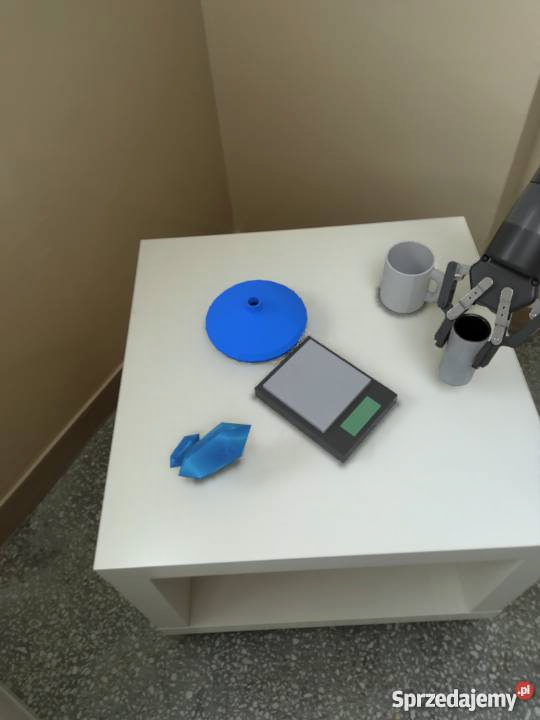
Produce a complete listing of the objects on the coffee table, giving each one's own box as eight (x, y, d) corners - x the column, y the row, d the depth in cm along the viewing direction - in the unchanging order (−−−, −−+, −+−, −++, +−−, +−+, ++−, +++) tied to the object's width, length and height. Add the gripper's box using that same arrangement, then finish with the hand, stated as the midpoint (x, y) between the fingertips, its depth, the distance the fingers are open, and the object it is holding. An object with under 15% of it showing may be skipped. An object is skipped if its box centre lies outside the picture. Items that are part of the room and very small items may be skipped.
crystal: (148, 443, 66) (227, 389, 67) (177, 462, 74) (247, 413, 74) (172, 492, 63) (255, 434, 63) (200, 507, 70) (274, 455, 71)
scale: (395, 402, 75) (398, 391, 72) (343, 463, 70) (344, 453, 68) (308, 344, 82) (308, 331, 79) (255, 396, 77) (253, 384, 74)
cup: (389, 275, 88) (395, 235, 81) (448, 294, 85) (461, 254, 78) (372, 305, 85) (378, 266, 77) (433, 326, 82) (445, 288, 74)
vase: (326, 345, 81) (326, 317, 75) (232, 388, 78) (225, 362, 72) (279, 279, 89) (277, 248, 84) (193, 315, 86) (184, 286, 81)
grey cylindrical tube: (437, 358, 74) (452, 311, 66) (471, 360, 74) (490, 313, 65) (438, 385, 72) (453, 340, 63) (473, 388, 71) (493, 343, 63)
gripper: (472, 201, 62) (399, 329, 67) (595, 256, 55) (503, 391, 61) (485, 213, 68) (417, 328, 73) (596, 263, 62) (513, 385, 67)
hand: (457, 356), depth 67 cm, fingers closed on grey cylindrical tube, 4 cm apart
